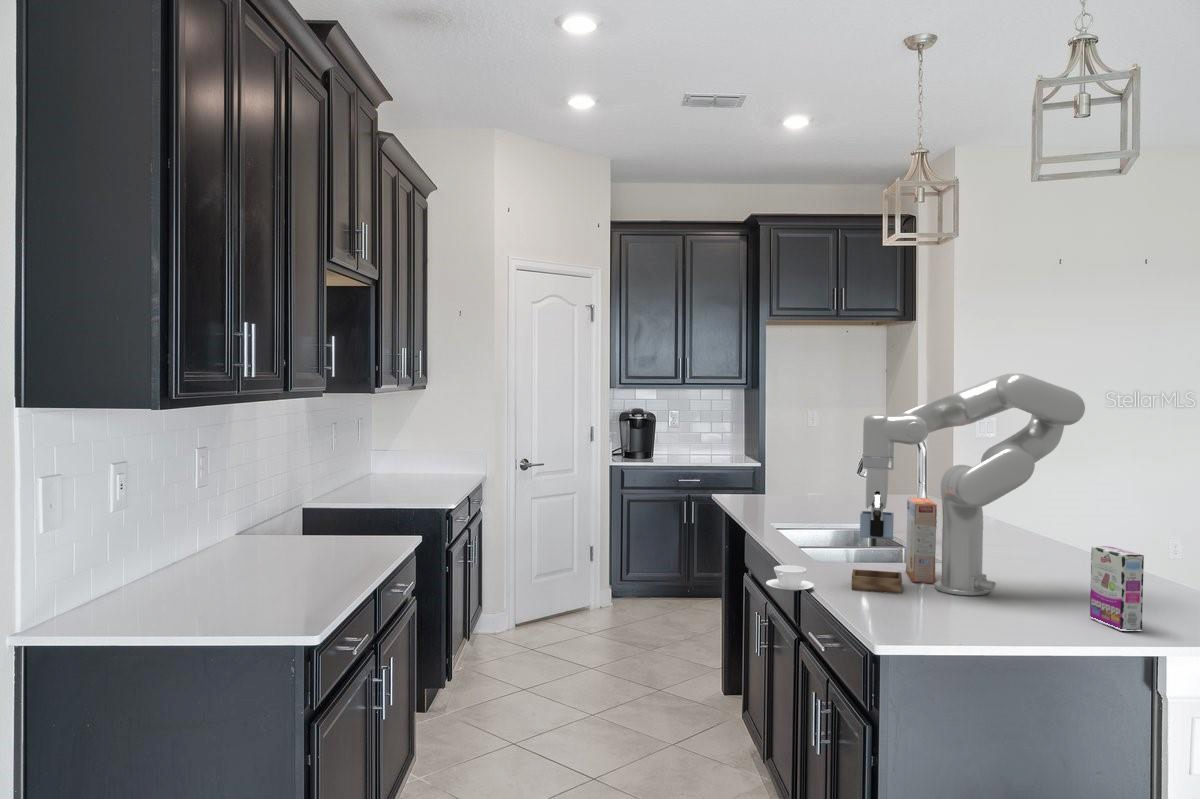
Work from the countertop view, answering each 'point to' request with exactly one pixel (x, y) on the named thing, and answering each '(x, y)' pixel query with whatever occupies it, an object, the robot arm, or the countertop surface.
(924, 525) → the cracker box
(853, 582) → the walnut crate
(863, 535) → the slate crate
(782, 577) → the teacup
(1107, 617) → the candy bar box
